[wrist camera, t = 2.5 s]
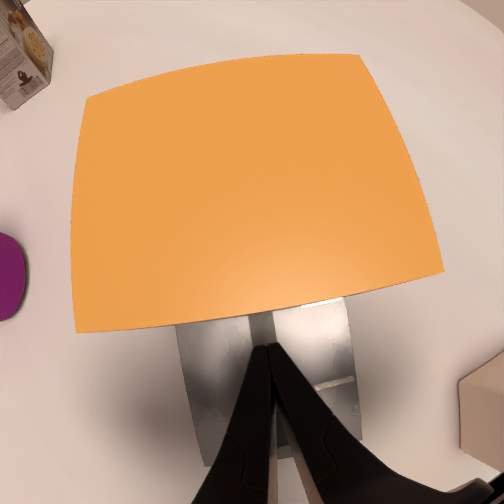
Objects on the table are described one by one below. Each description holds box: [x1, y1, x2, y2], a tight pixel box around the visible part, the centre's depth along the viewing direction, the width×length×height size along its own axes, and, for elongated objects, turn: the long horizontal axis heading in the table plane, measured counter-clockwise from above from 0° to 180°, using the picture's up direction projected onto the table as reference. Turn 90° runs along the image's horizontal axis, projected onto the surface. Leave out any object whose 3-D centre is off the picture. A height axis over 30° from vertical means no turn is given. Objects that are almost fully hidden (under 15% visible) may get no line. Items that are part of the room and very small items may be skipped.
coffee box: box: [0, 0, 53, 110], centre depth 17 cm, size 9×6×16 cm
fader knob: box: [71, 54, 444, 333], centre depth 10 cm, size 4×5×13 cm
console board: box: [175, 297, 362, 466], centre depth 17 cm, size 21×10×2 cm, turn 9°
